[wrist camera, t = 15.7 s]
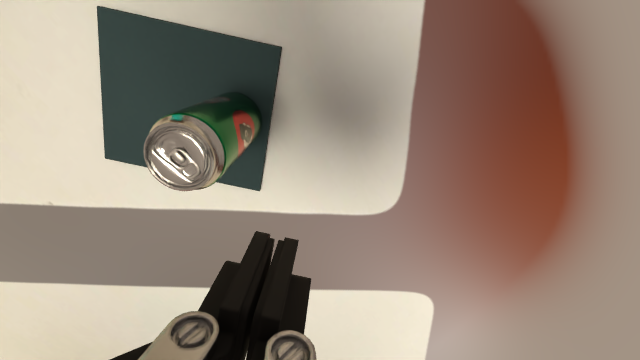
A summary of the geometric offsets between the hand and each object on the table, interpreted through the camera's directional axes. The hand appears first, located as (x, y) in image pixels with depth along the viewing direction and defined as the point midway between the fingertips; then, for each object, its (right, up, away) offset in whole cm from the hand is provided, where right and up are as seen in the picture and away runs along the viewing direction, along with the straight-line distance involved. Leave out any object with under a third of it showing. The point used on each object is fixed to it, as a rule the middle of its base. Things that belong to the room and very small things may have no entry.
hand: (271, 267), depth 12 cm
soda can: (-6, +9, +18) cm, 21 cm away
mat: (-11, +10, +18) cm, 24 cm away
